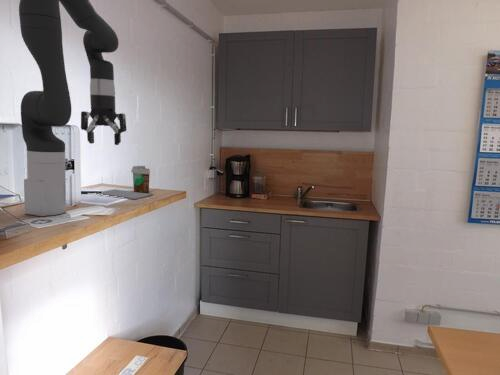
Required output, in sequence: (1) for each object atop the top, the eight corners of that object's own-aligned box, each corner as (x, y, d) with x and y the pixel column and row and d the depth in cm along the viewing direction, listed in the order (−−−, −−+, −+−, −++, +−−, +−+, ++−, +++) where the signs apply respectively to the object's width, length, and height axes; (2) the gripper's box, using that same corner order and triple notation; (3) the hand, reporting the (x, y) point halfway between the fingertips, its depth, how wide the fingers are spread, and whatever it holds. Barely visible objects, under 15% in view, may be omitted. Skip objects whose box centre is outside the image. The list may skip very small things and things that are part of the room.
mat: (134, 199, 127) (134, 198, 127) (93, 194, 132) (93, 193, 132) (153, 195, 138) (153, 194, 138) (114, 190, 143) (114, 189, 143)
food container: (129, 189, 148) (129, 165, 146) (144, 189, 151) (144, 165, 149) (132, 194, 137) (133, 168, 135) (149, 194, 139) (149, 168, 138)
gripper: (75, 92, 113) (77, 143, 117) (120, 94, 113) (121, 146, 116) (86, 93, 121) (88, 142, 124) (128, 95, 120) (129, 144, 124)
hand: (104, 144), depth 120 cm, fingers open, 8 cm apart
